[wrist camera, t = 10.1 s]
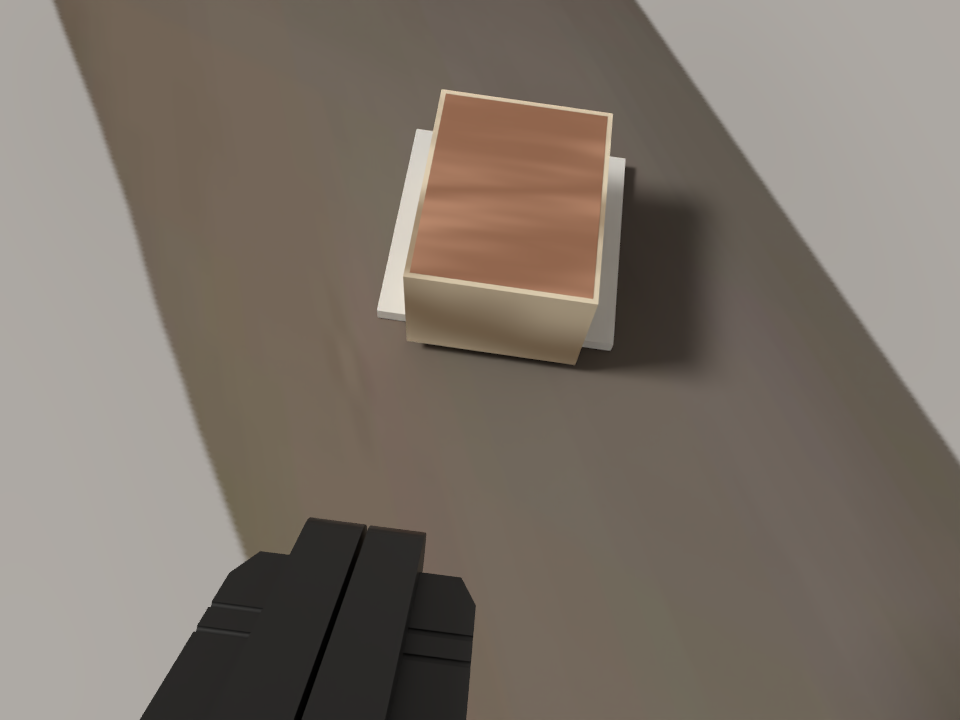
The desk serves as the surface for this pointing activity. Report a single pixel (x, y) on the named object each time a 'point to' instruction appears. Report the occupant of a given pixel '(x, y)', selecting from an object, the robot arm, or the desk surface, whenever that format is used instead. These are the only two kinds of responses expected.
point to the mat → (393, 285)
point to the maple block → (509, 228)
